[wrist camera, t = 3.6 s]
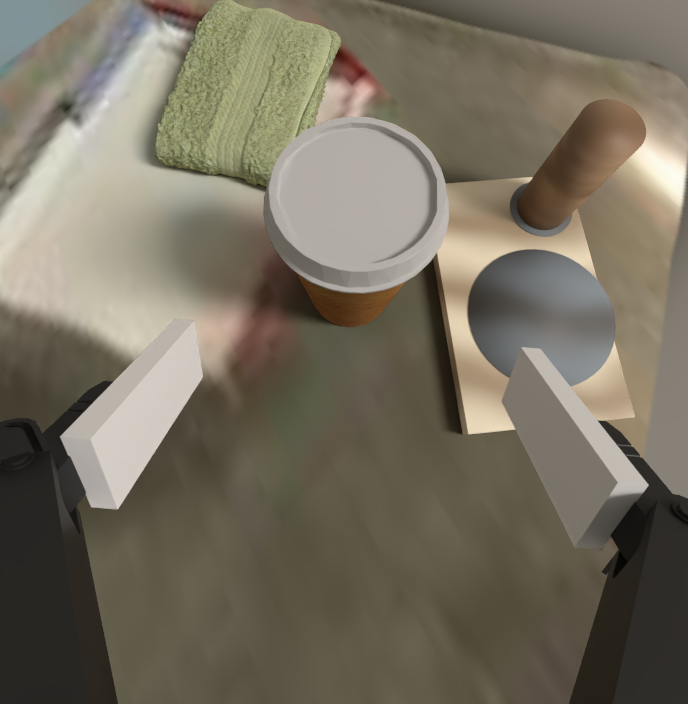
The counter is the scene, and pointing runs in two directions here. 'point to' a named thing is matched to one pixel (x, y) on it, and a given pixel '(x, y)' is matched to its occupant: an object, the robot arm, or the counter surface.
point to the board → (521, 305)
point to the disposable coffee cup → (356, 214)
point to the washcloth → (244, 91)
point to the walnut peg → (581, 162)
